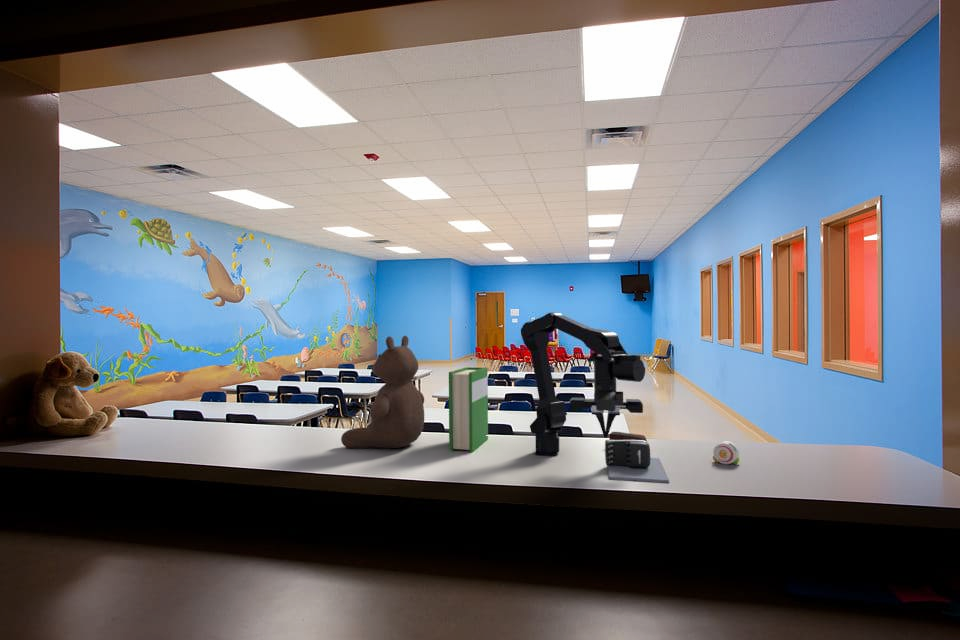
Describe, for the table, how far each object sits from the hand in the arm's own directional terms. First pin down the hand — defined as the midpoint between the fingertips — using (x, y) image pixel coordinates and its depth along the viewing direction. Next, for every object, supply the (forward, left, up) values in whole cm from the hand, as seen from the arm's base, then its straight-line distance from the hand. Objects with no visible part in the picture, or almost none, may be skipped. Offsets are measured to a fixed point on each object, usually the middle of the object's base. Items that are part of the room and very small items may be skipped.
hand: (605, 437), depth 133 cm
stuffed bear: (-68, +12, -8) cm, 70 cm away
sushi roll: (+32, +11, -8) cm, 35 cm away
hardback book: (-42, +17, -8) cm, 46 cm away
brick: (+7, +22, -8) cm, 24 cm away
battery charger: (0, -1, -4) cm, 4 cm away
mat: (+8, 0, -8) cm, 11 cm away
